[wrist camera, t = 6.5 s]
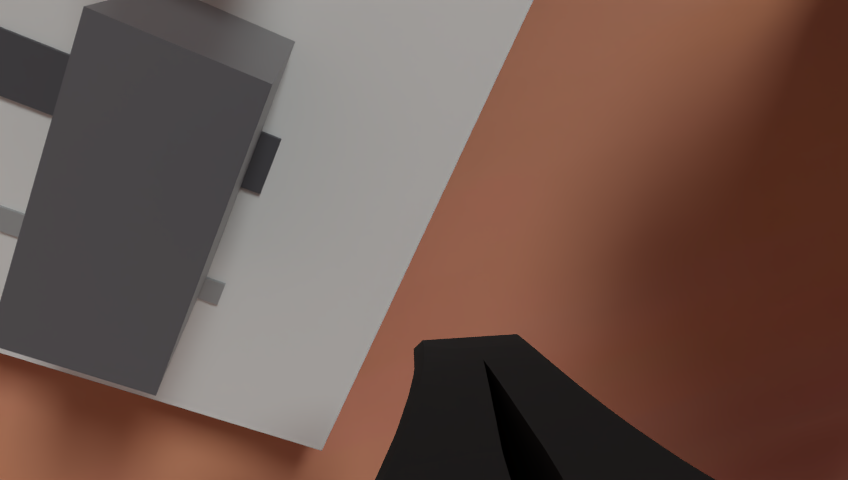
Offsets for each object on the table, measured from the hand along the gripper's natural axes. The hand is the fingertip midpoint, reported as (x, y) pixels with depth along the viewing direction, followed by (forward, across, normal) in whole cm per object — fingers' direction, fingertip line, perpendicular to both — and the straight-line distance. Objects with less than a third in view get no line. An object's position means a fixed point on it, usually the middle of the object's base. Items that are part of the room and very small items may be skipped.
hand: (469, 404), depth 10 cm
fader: (+6, +4, -2) cm, 8 cm away
